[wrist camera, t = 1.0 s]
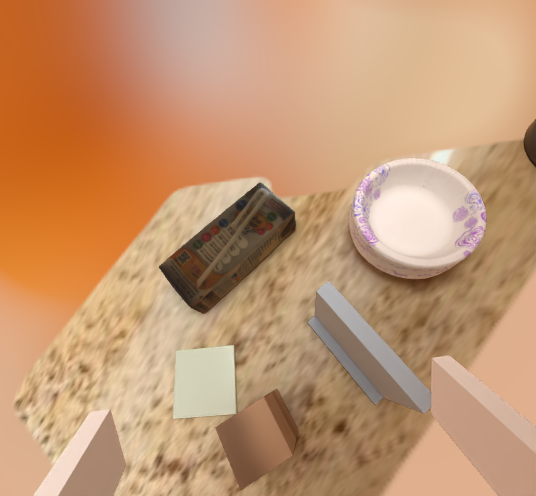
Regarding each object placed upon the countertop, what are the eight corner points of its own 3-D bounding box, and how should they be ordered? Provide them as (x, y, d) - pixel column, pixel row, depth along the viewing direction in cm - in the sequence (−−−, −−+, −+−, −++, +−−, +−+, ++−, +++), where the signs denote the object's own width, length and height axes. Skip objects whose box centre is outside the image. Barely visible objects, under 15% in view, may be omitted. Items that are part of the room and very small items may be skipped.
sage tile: (234, 345, 39) (233, 345, 38) (237, 413, 35) (235, 413, 35) (178, 351, 39) (176, 350, 39) (175, 418, 36) (173, 418, 36)
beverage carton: (299, 230, 44) (297, 209, 38) (204, 318, 41) (186, 309, 35) (265, 200, 47) (258, 176, 41) (174, 280, 44) (152, 266, 38)
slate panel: (307, 322, 38) (305, 299, 26) (329, 304, 39) (339, 272, 26) (373, 404, 34) (412, 425, 21) (398, 381, 34) (450, 389, 22)
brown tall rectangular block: (276, 388, 36) (263, 396, 26) (298, 430, 34) (293, 456, 24) (242, 410, 35) (215, 427, 25) (262, 454, 33) (241, 490, 23)
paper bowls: (472, 280, 38) (511, 259, 30) (355, 290, 39) (365, 272, 32) (439, 185, 44) (465, 148, 36) (338, 196, 45) (344, 164, 38)
